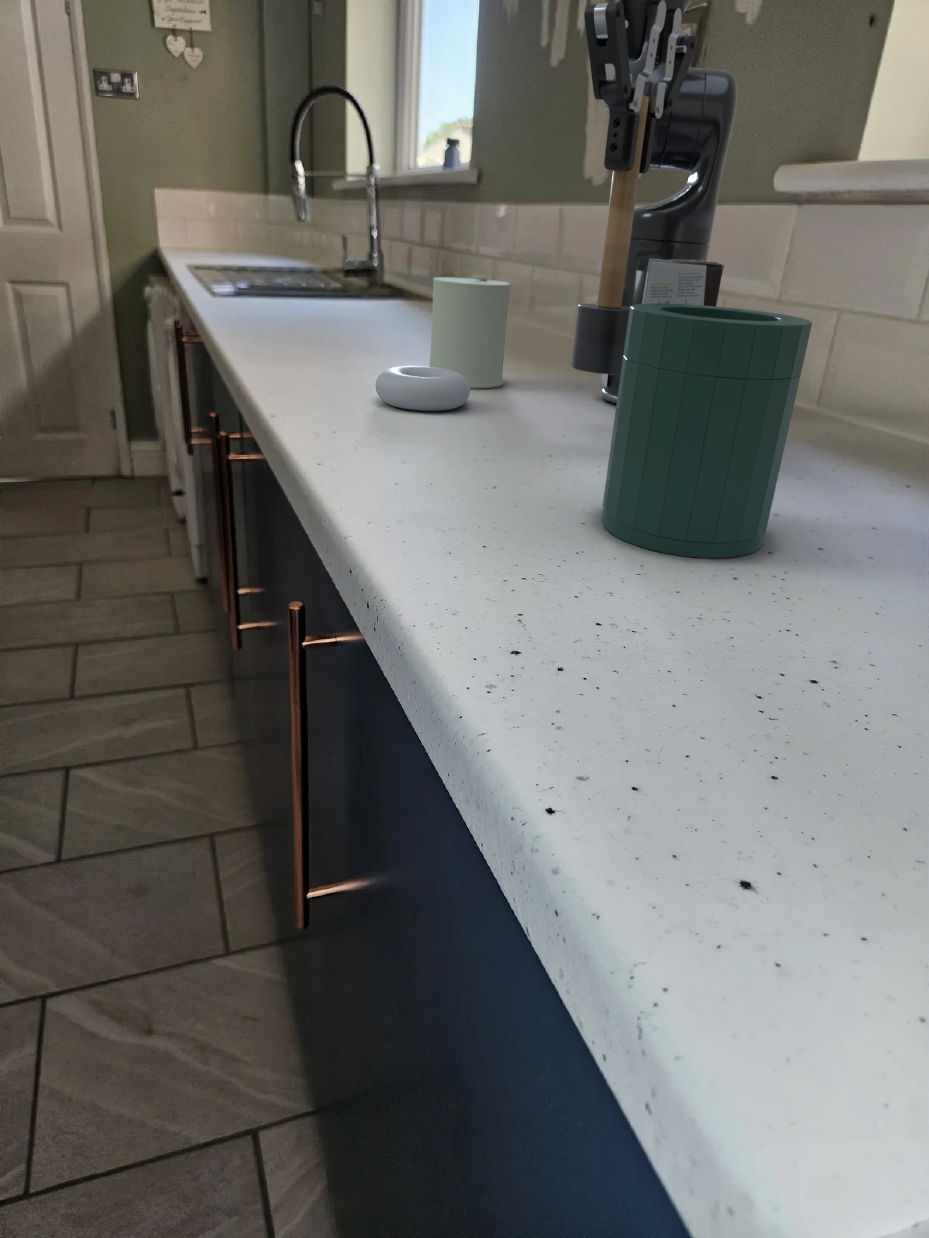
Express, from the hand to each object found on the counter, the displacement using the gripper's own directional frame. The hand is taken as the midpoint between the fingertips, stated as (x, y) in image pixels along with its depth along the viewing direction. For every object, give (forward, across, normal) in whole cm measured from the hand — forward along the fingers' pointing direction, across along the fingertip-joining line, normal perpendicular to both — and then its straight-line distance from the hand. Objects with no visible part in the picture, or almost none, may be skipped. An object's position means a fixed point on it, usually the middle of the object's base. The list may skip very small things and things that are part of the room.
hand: (626, 170), depth 67 cm
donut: (+23, -4, -23) cm, 32 cm away
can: (+23, -19, -29) cm, 41 cm away
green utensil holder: (+22, +13, +15) cm, 30 cm away
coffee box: (+23, -11, +1) cm, 25 cm away
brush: (+15, 0, 0) cm, 15 cm away
